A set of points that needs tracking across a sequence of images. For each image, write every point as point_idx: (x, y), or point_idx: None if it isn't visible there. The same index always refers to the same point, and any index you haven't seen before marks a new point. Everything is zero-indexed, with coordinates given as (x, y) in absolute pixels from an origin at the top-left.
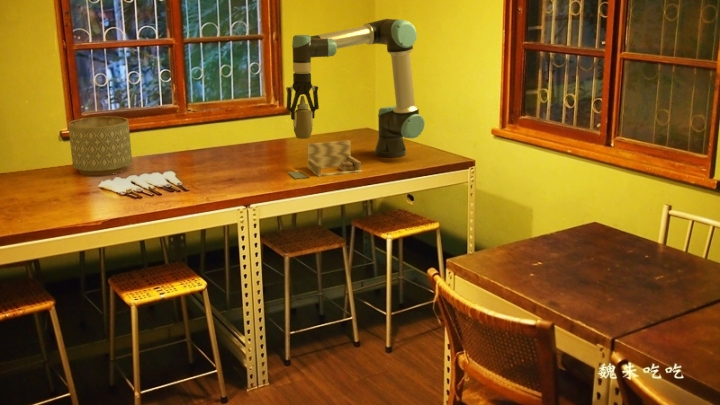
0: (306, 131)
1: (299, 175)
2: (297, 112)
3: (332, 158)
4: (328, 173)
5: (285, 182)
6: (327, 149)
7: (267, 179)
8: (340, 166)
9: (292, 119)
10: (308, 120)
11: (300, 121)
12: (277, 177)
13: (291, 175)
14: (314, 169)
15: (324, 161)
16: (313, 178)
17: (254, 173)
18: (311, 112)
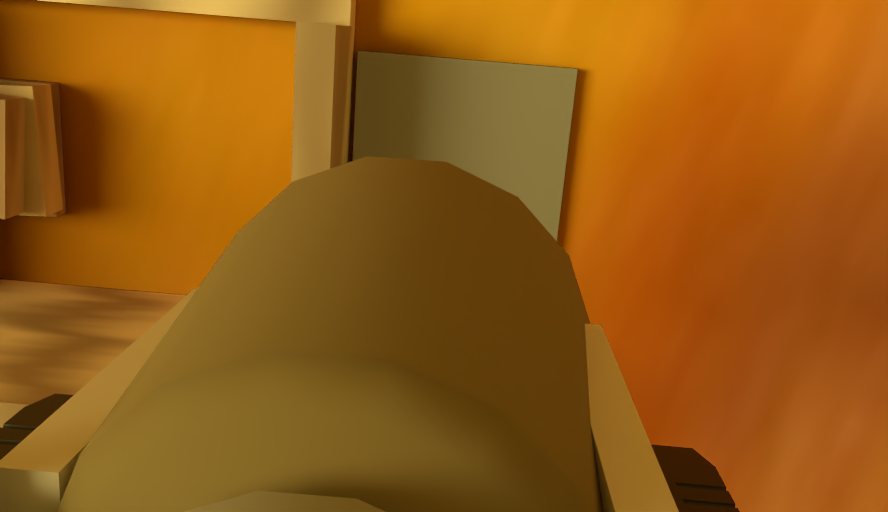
0: (395, 161)
1: (498, 154)
2: (590, 505)
3: (58, 322)
4: (236, 9)
5: (710, 4)
6: (61, 366)
7: (808, 195)
8: (42, 172)
9: (691, 453)
10: (282, 243)
11: (516, 276)
12: (694, 221)
13: (560, 203)
14: (340, 137)
15: (157, 320)
16: (403, 23)
17: (810, 446)
18: (47, 451)
